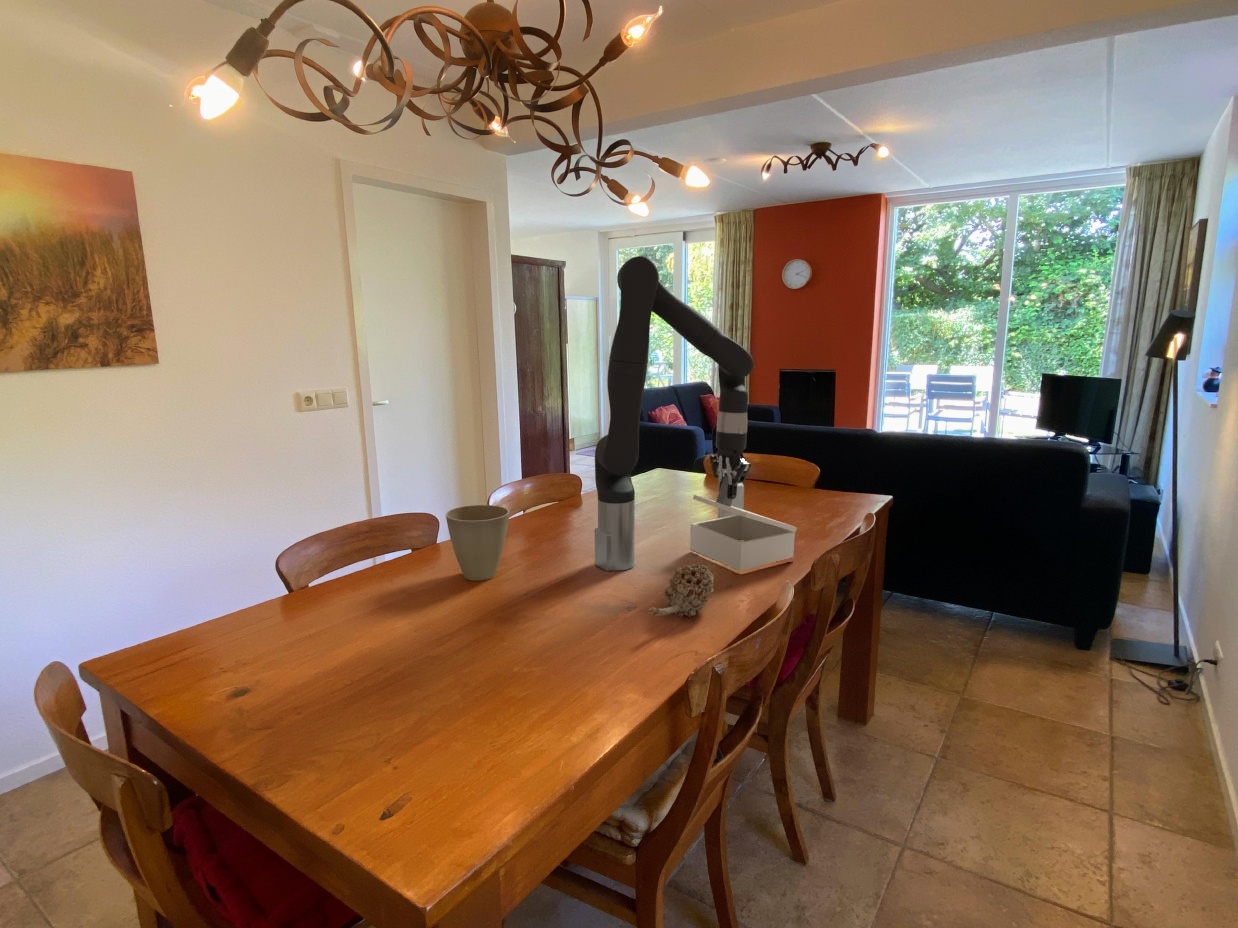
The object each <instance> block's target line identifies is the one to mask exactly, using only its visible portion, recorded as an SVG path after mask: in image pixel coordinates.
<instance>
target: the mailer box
mask: <svg viewBox="0 0 1238 928" xmlns="http://www.w3.org/2000/svg"><path fill="white" fill-rule="evenodd" d="M689 527H690V533H689V535H690V537H689V539H690V540H689V551H690V550H691V551H693V552H696V553H698V554H701V555H703V556H705V557H708V558H710V559H712V560H715V561H718V562H720V563H722V564H724V565H726V566H729V567H731V568H733V569H735V570H739V571H743V570H747V569H751V568H755V567H758V566H761V565H764V564H769V563H772V562H776V561H780V560H784V559H788V558H791V557H793V558H794V555H795V554H794V553H795V535H796V532H794V531H790V530H787V529H784V528H780V527H777V526H773V525H770V524H767V523H763V522H760V521H757V520H753V519H750V518H746V517H743V516H740V515H734V516H728V517H723V518H718V517H717V518H714V519H708V520H702V521H698V522H692V523H690V526H689ZM740 540H744V542H740Z"/></svg>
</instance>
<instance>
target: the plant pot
mask: <svg viewBox="0 0 1238 928" xmlns="http://www.w3.org/2000/svg"><path fill="white" fill-rule="evenodd" d="M509 515H510V510H509V509H508V508H507V507H504V506H500V505H493V504H492V505H491V504H471V505H464V506H459V507H454V508H451V509H449V510H447V512H445V518H446V519H445V520H446V523H447V524H446V525H447V528H448V529H447V530H448V533H449V538H450V541H451V545H452V548H453V551H454V555H455V559H456V561H457V563H458V565H459V568H460V571H461V573H462V574H463V576H464V578H465V579H467V580H468V581H479V582H480V581H487V580H490V579H492V578H494V577H495V576H496V573H497V570H498V568H499V565H500V561H501V558H502V555H503V552H504V547H505V542H506V537H507V534H508V527H509V518H510V517H509Z"/></svg>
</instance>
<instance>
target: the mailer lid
mask: <svg viewBox="0 0 1238 928" xmlns="http://www.w3.org/2000/svg"><path fill="white" fill-rule="evenodd" d="M728 484H729V479H728V477H727V476H724V479H723V482H722V485H721V488H720V491H719V490H718V495H717V498H716V501H715V500H713V499H710V498H706V497H702V496H699V495H697V494H693V497H692V500H695V501H697V502H701V503H703V504H706V505H709V506H711V507H715V508H720V509H723V510H726V511H729V512H732V513H735V514H738V515H740V516H743V517H746V518H750V519H753V520H757V521H760V522H763V523H767V524H770V525H773V526H777V527H780V528H784V529H787V530H790V531H793V532H795V533H796V532H797V530H798V527H797V526H795V525H794V526H793V525H790V524H788V523H784V522H781V521H778V520H775V519H772V518H769V517H766V516H763V515H760V514H757V513H754V512H752V511H749V510H745V509H744V508H743V509H739V508H736V507H733V506H731V504H732V501H733V499H728V498H727V494H728Z"/></svg>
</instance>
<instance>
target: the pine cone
mask: <svg viewBox="0 0 1238 928" xmlns="http://www.w3.org/2000/svg"><path fill="white" fill-rule="evenodd" d="M714 579H715V575H714V574H712V571H710V569H708V566H706V565H703V564H702V563H700V564H699V565H697V566H695V563H693V565H692V564H690V565H687V564H684V565H683V567H682V568H681V567H679V566H678V567H677V568H676V570H673V575H672V577H670V578H669V581H668V585H669V586H668V587H664V588H663V594H664V596H665V597H666V599H665V600H664V603H665V604H666V605H667V607H665V608H659V607H650V608H649V609H648V611H649V612H648V614H650V615H653V616H666V615H669V614H670V615H671V614H672V613H675V615H676V616H677V617H678V616H679V617H680V616H682V617H683V615H686V616H688V617H689V618H691V617H692V616H695V615H696V611H702V610H703V608H704V606H705V603H709V600H711V596H710V594H712V592H714V589H715V587H714V586H715V585H714V584H713V583H714Z"/></svg>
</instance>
